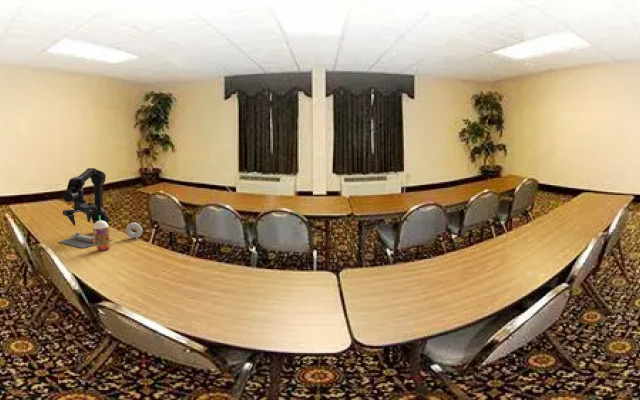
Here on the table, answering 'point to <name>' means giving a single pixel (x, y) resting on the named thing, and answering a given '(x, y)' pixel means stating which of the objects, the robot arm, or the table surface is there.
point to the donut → (130, 233)
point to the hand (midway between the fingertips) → (81, 223)
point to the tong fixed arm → (80, 235)
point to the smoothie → (101, 235)
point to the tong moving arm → (85, 239)
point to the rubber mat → (78, 243)
